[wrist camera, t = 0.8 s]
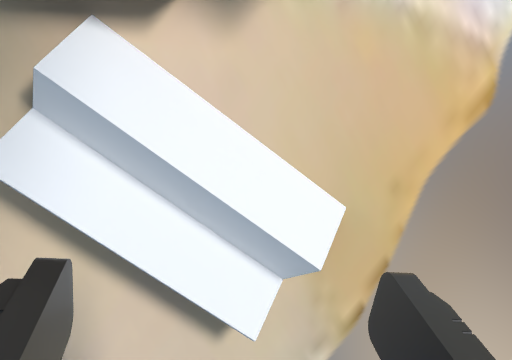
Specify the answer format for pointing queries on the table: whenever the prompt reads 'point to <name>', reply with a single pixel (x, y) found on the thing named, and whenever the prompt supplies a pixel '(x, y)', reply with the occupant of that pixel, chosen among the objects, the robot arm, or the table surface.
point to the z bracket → (165, 179)
